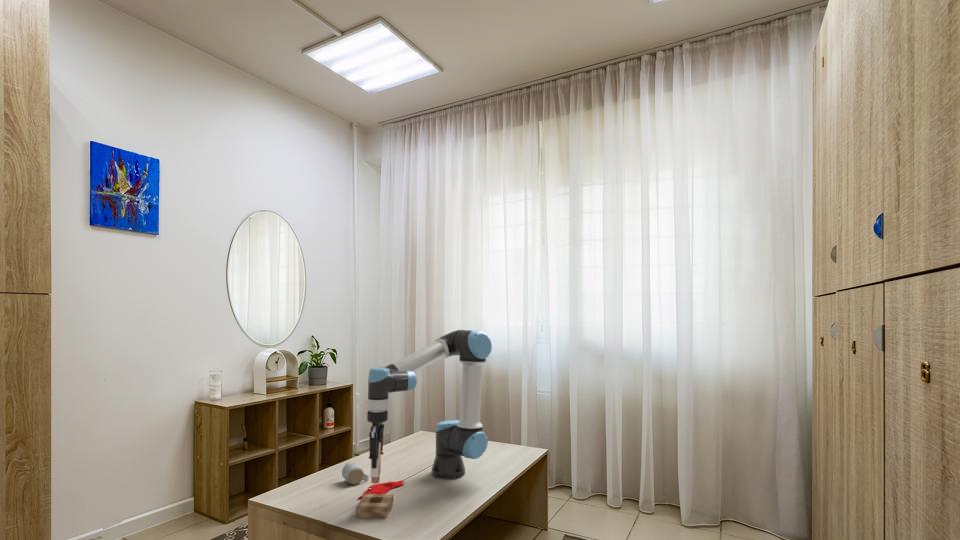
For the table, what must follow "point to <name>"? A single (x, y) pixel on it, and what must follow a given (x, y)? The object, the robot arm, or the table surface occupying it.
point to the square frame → (374, 506)
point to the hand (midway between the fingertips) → (375, 474)
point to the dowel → (376, 479)
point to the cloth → (382, 488)
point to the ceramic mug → (353, 473)
